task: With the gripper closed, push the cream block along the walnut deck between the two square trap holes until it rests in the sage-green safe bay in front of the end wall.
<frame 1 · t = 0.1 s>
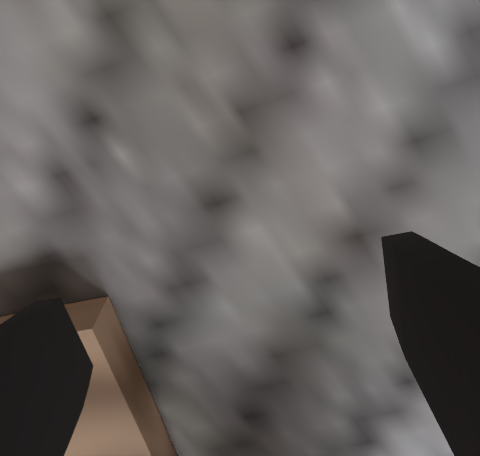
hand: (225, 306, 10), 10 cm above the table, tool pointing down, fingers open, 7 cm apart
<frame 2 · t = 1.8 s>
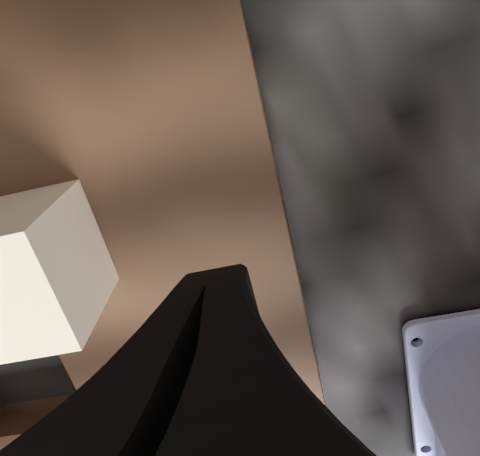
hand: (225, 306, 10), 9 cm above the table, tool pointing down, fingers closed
block: (48, 241, 16), point 2 cm above the table, touching deck
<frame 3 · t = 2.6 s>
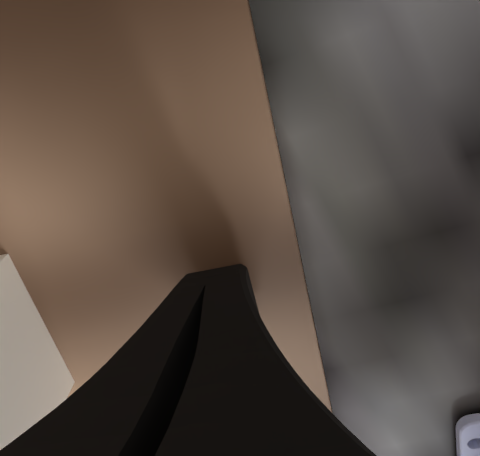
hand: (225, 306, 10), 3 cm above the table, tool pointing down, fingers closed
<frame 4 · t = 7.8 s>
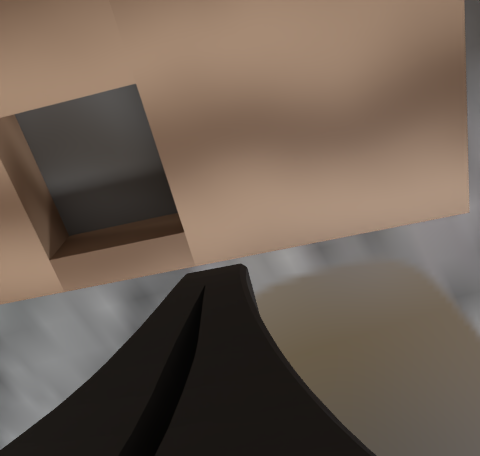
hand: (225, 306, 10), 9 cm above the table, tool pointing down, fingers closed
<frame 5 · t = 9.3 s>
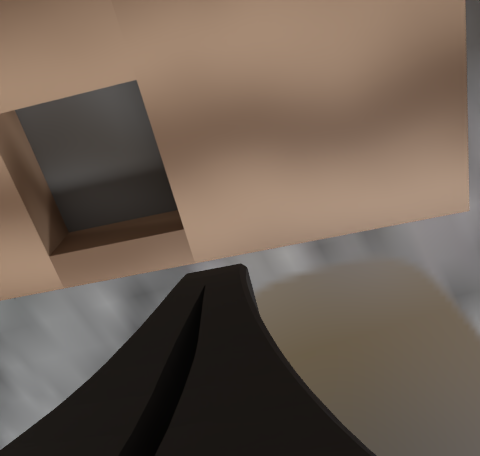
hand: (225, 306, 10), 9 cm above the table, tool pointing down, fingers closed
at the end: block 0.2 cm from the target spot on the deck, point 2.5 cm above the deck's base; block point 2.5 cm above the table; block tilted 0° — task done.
